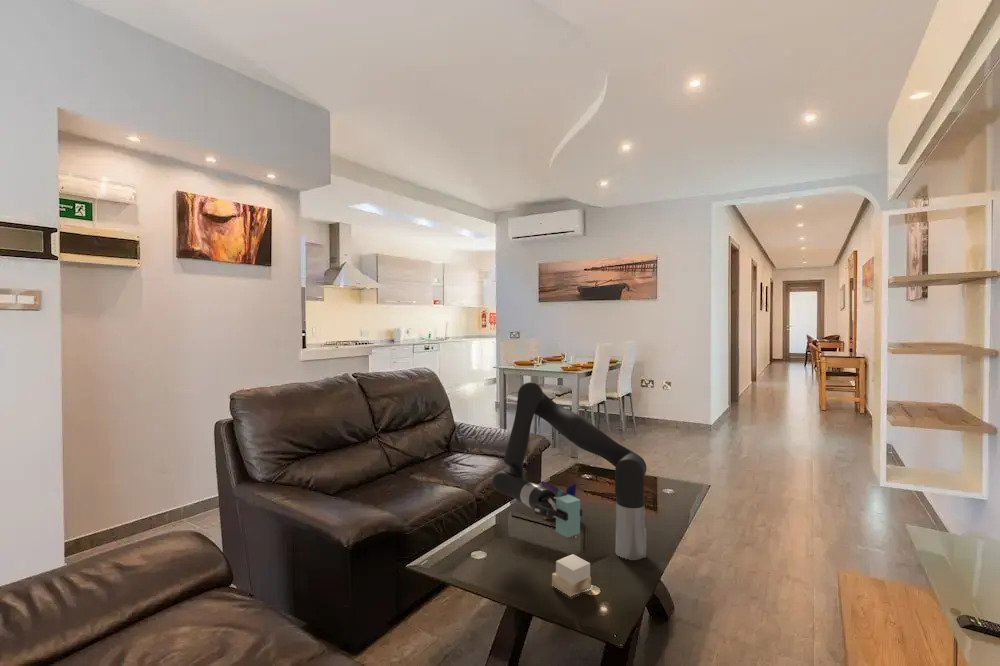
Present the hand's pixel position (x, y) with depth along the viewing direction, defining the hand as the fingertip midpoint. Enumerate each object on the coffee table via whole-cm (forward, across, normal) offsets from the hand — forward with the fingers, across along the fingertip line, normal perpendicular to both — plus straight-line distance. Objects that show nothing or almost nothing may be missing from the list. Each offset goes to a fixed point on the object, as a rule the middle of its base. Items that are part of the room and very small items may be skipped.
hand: (574, 515), depth 143 cm
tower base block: (-1, 0, +22) cm, 22 cm away
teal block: (-3, 0, +6) cm, 7 cm away
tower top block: (-1, 0, +18) cm, 18 cm away
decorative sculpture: (-42, +34, +22) cm, 58 cm away
